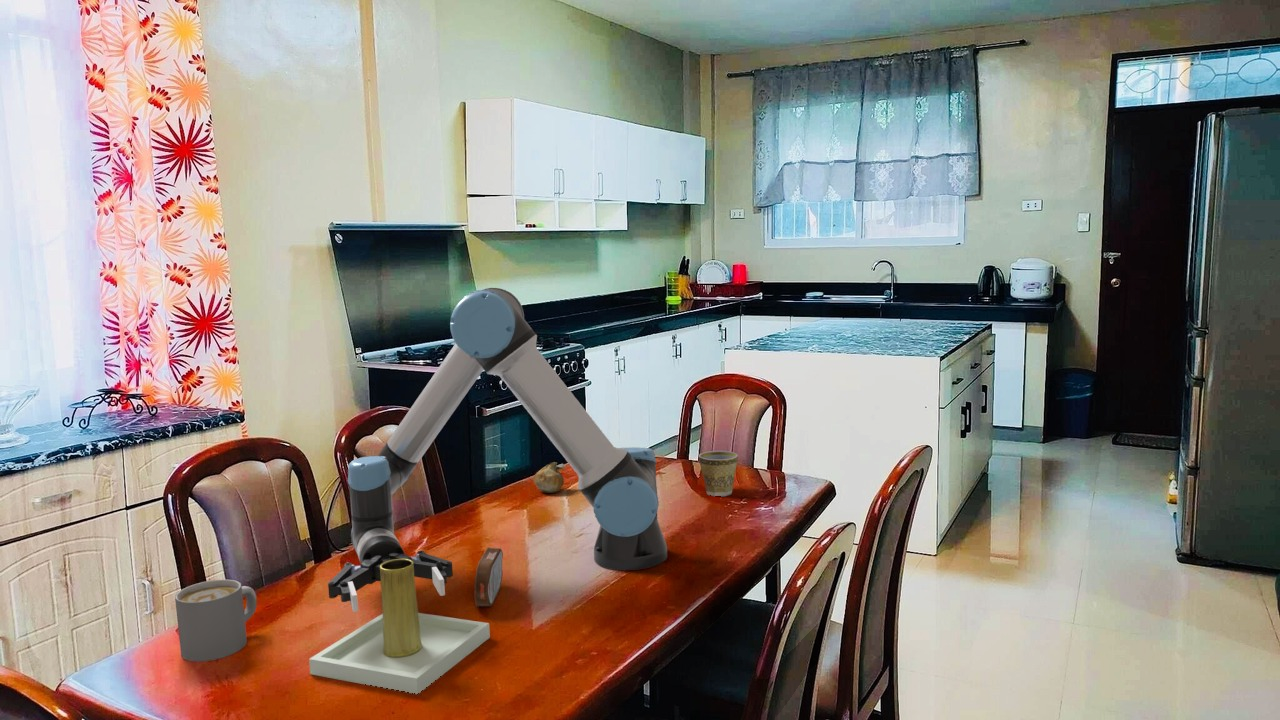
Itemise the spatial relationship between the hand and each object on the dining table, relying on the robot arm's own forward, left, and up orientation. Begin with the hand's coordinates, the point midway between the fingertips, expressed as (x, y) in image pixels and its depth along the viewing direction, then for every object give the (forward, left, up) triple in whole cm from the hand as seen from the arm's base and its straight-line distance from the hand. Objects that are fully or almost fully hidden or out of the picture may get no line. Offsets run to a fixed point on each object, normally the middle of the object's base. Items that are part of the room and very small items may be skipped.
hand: (399, 595), depth 142 cm
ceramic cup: (-21, -104, -10) cm, 107 cm away
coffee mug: (+32, +6, -10) cm, 34 cm away
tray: (0, 0, -10) cm, 10 cm away
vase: (0, 0, -9) cm, 9 cm away
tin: (-1, -25, -10) cm, 27 cm away
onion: (+22, -92, -10) cm, 95 cm away
